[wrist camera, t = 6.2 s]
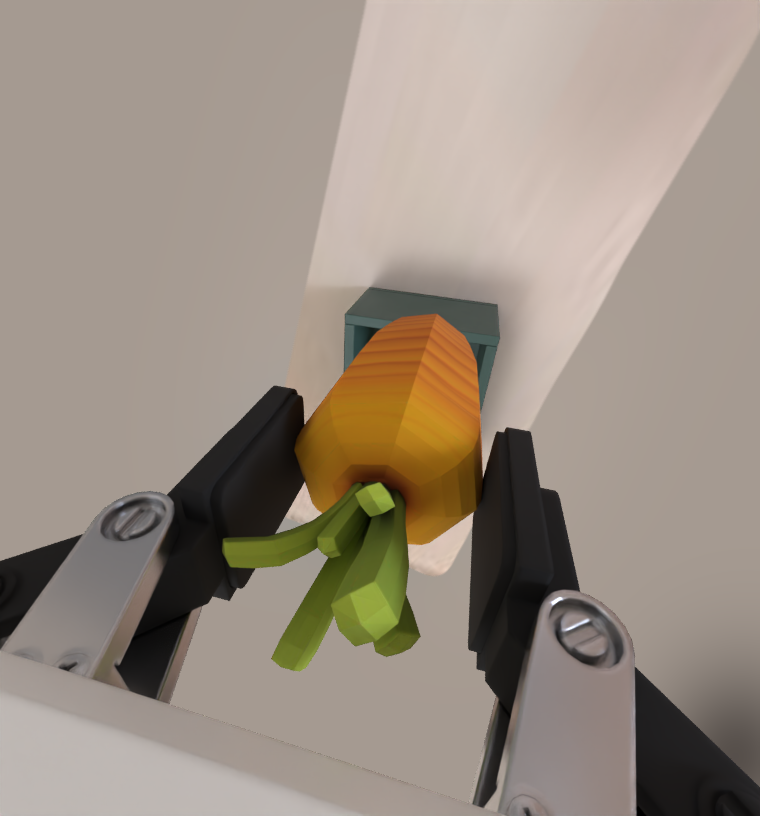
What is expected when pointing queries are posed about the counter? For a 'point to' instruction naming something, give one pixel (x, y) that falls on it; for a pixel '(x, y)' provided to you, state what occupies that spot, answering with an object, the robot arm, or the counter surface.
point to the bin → (391, 305)
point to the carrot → (379, 485)
